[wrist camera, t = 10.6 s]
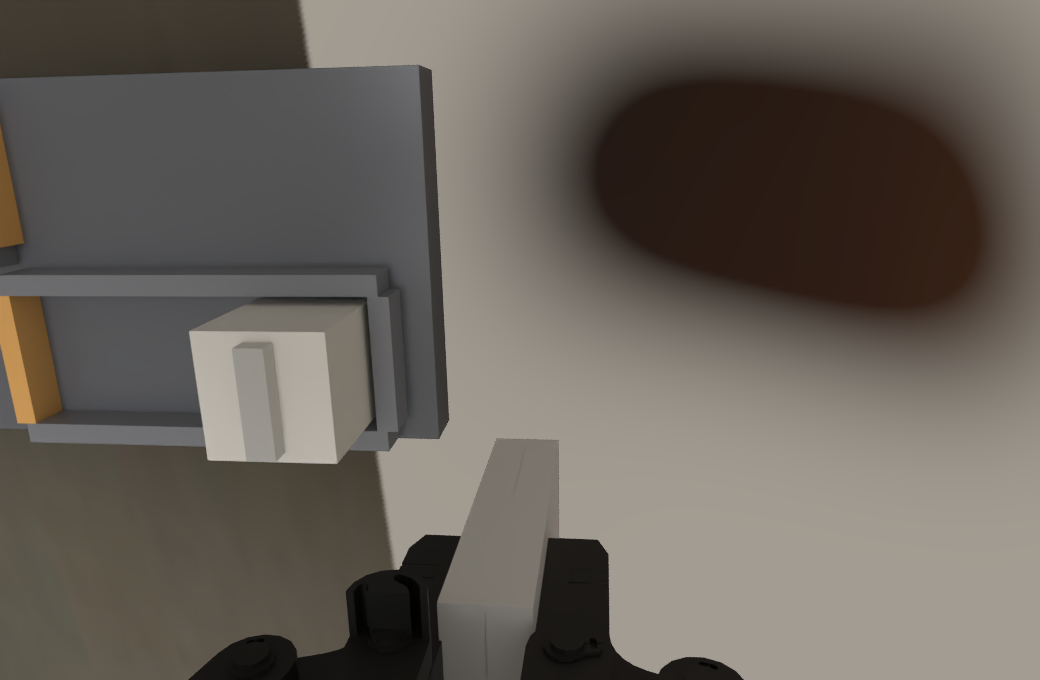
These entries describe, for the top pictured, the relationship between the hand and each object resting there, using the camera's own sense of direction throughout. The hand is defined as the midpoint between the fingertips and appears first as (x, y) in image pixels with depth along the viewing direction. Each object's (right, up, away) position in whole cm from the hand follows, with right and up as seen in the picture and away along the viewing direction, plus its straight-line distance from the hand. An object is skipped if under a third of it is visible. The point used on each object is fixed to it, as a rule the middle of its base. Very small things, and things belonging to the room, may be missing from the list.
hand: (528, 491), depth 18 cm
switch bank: (-20, +7, +13) cm, 25 cm away
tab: (-8, +3, +11) cm, 14 cm away
